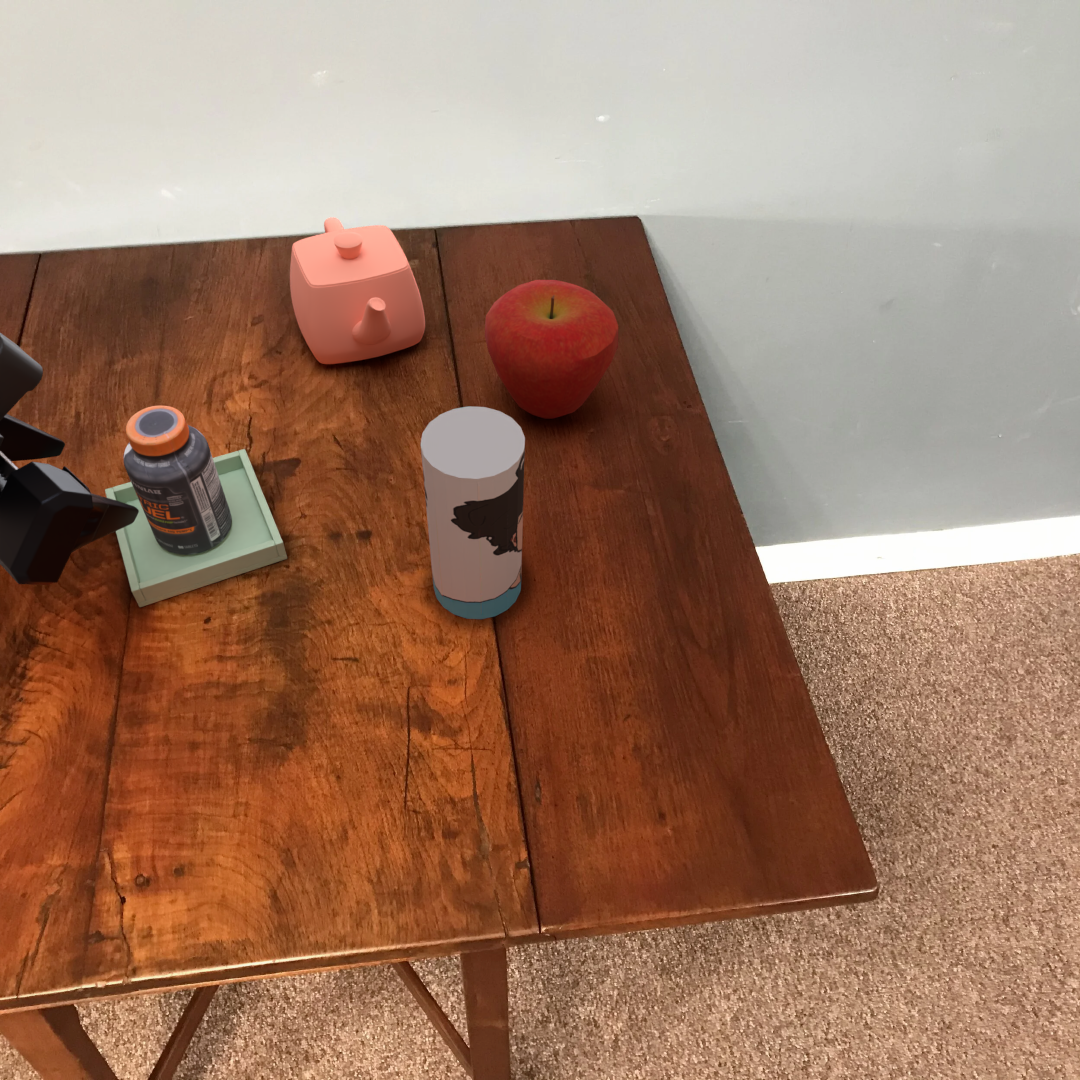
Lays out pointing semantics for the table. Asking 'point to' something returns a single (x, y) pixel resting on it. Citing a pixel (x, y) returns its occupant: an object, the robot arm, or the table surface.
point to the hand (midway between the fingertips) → (97, 480)
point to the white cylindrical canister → (474, 509)
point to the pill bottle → (176, 481)
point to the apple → (550, 345)
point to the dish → (238, 553)
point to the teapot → (354, 293)
